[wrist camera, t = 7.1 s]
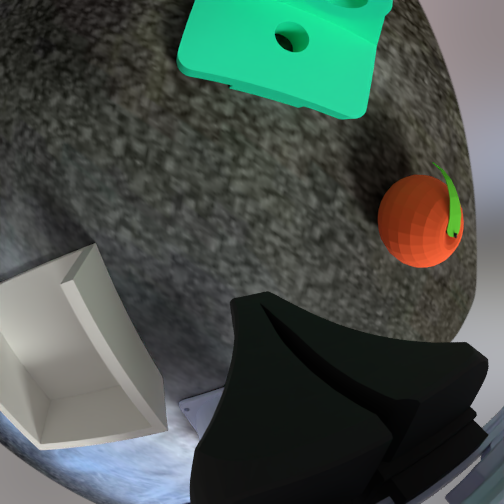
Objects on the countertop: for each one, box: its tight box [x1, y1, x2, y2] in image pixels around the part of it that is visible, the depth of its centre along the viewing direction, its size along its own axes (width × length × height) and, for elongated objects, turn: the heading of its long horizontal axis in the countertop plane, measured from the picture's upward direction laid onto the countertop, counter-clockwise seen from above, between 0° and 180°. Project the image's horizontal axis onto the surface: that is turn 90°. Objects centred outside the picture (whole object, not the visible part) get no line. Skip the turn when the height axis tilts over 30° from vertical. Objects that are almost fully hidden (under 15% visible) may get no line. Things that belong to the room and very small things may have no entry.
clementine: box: [378, 162, 463, 267], centre depth 19 cm, size 8×7×7 cm
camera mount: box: [176, 0, 393, 119], centre depth 12 cm, size 12×8×10 cm, turn 77°
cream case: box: [0, 243, 168, 450], centre depth 16 cm, size 13×12×6 cm
